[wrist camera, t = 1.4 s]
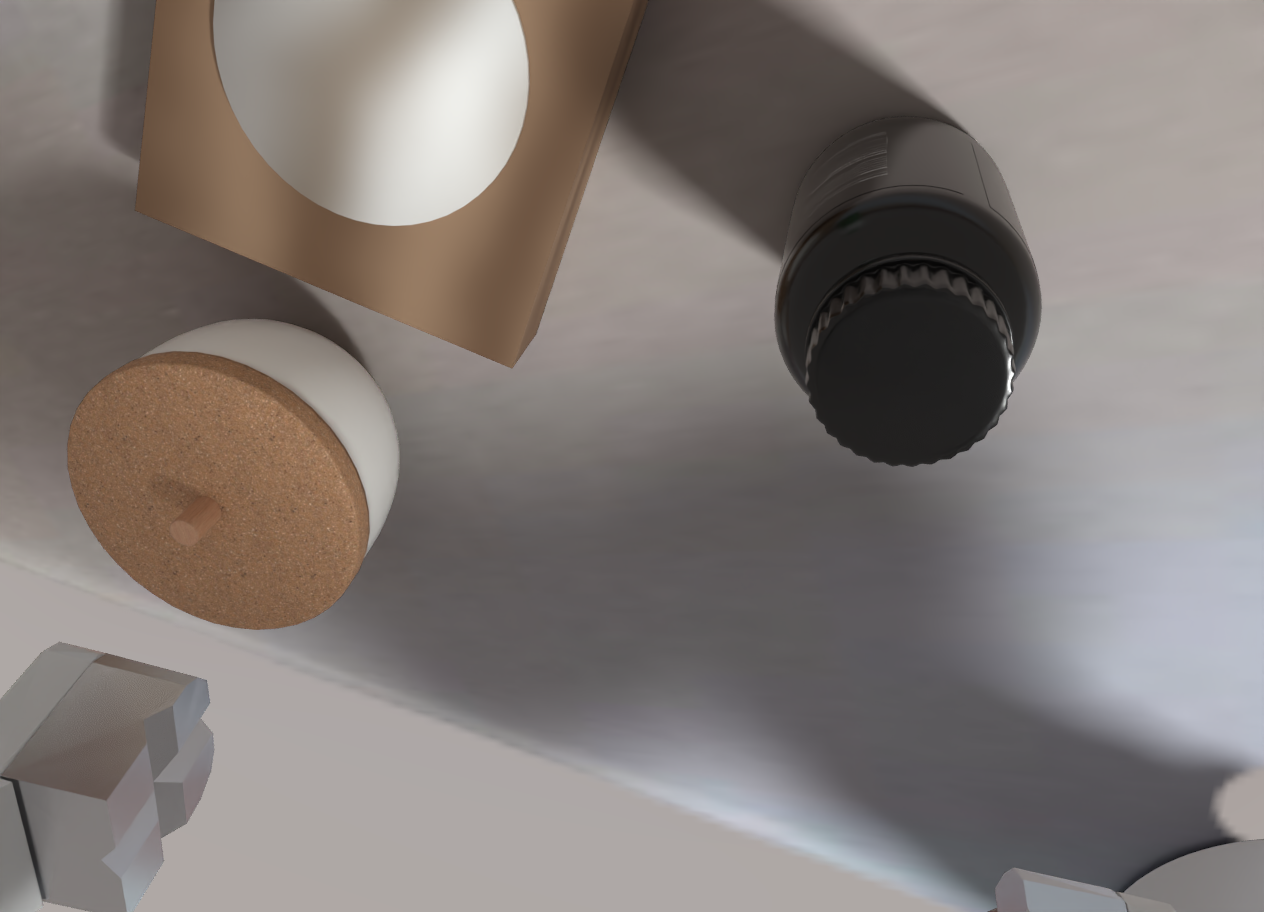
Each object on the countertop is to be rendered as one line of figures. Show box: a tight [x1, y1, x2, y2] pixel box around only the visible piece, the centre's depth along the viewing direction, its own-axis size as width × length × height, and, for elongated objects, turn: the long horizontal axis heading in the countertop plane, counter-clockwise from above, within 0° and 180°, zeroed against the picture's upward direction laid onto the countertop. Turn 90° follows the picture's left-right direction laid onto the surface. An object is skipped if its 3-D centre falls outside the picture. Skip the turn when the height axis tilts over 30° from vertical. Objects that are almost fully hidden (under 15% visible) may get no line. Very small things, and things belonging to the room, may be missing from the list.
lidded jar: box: [67, 319, 399, 630], centre depth 40 cm, size 11×11×9 cm
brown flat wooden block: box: [135, 0, 649, 368], centre depth 35 cm, size 14×16×3 cm
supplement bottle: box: [774, 116, 1042, 467], centre depth 31 cm, size 7×7×12 cm
